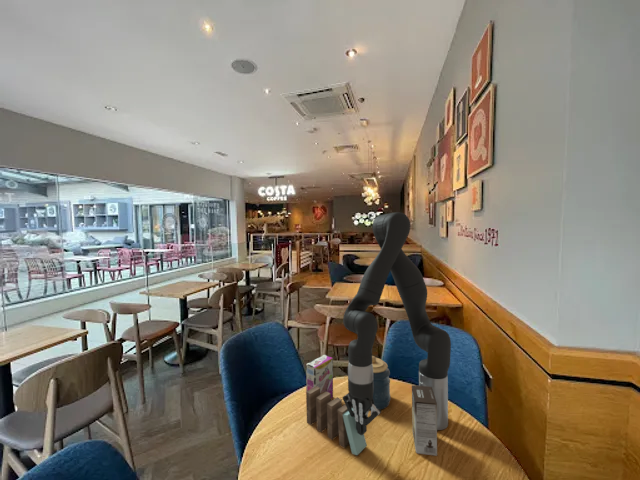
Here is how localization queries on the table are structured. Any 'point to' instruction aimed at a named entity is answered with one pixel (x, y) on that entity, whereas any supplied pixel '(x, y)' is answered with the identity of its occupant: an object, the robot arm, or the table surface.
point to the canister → (380, 383)
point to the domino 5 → (353, 434)
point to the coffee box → (424, 420)
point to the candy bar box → (320, 374)
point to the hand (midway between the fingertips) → (361, 433)
